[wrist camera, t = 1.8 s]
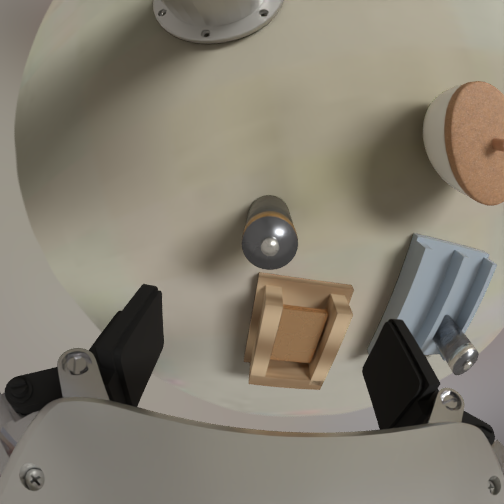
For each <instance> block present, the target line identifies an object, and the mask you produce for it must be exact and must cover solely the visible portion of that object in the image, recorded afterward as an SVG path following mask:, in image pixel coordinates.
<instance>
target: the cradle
mask: <svg viewBox="0 0 504 504" xmlns="http://www.w3.org/2000/svg"><path fill="white" fill-rule="evenodd" d="M353 291H354V289H353V287H352V285H347V284H339V283H332V282H324V281H317V280H310V279H303V278H296V277H289V276H282V275H275V274H268V273H261V272H259V277H258V283H257V288H256V294H255V300H254V305H253V311H252V317H251V322H250V328H249V333H248V339H247V344H246V350H245V355H244V362H249V363H250V372H249V384H254V385H263V386H273V387H284V388H297V389H315V390H320V388H321V386H322V384H323V382H324V380H325V378H326V376H327V374H328V372H329V370H330V368H331V366H332V363H333V361H334V359H335V357H336V355H337V352H338V350H339V348H340V346H341V343H342V341H343V339H344V336H345V334H346V331H347V329H348V327H349V324H350V322H351V319H352V317H353V313H352V311H351V308H350V306H349V302H350V300H351V297H352V294H353ZM283 304H285V305H293V306H301V307H309V308H318V309H327V311H328V317H327V319H326V322H325V325H324V328H323V331H322V333H321V336H320V339H319V341H318V344H317V347H316V349H315V352H314V355H313V357H312V360H311V362H310V363H303V362H292V361H281V360H272V359H270V357H271V353H272V349H273V345H274V342H275V338H276V334H277V330H278V326H279V322H280V318H281V314H282V310H283Z"/></svg>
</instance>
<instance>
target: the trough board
mask: <svg viewBox="0 0 504 504" xmlns="http://www.w3.org/2000/svg"><path fill="white" fill-rule="evenodd" d="M488 257H489V254H488V253H486V252H485V251H481V250H478V249H474V248H471V247H467V246H463V245H460V244H456V243H452V242H448V241H444V240H440V239H437V238H432V237H428V236H424V235H420V234H416V233H414V234H413V237H412V240H411V243H410V247H409V250H408V253H407V256H406V259H405V261H404V264H403V267H402V270H401V273H400V275H399V278H398V281H397V283H396V286H395V288H394V291H393V293H392V296H391V298H390V301H389V303H388V306H387V308H386V310H385V313H384V315H383V317H382V319H381V322H380V324H379V326H378V328H377V330H376V332H375V335H374V337H373V339H372V341H371V343H370V345H369V347H368V349H367V351H368V353H369V354H370V352H371V350H372V348H373V346H374V344H375V342H376V340H377V338H378V336H379V334H380V332H381V330H382V328H383V325H384V324H385V322H388V320H389V319H401V320H403V321H404V323H405V324H406V326H407V327H408V329H409V330H410V332H411V334H412V335H413V337H414V339H415V340H416V342H417V344H418V345H419V347H420V349H421V350H422V352H423V354H424V355H429V354H440V355H441V357H442V359H443V360H444V361H445V358H444V357H443V355H442V353H441V352H440V350H439V349H438V347H437V345H436V344H435V342H434V341H433V339H432V338H433V337H434V335H435V333H436V331H437V329H438V327H439V325H440V324H441V322H442V320H443V318H444V316H445V315H449V316H451V318H452V319H453V320H454V321H455V323H456V324H457V325H458V326H459V328H460V329H461V330H462V332H463V333H464V334H465V332H466V330H467V328H468V326H469V325H470V323H471V321H472V319H473V317H474V315H475V313H476V311H477V309H478V307H479V305H480V303H481V301H482V299H483V297H484V295H485V292H486V290H487V288H488V286H489V283H490V281H491V279H492V276H493V274H494V271H495V269H496V266H497V265H496V264H495V263H494V262H492V261H491V260H490V259H488Z"/></svg>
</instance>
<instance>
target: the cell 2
mask: <svg viewBox="0 0 504 504" xmlns="http://www.w3.org/2000/svg"><path fill="white" fill-rule="evenodd" d="M432 339H433V341H434V342H435V344H436V345H437V347H438V349H439V350H440V352H441V353H442V355H443V357H444V358H445V360H446V361H447V363H448V365H449V367H450V368H451V370H452V372H453V373H454V374H455V375H460V374H463V373H464V372H466V371H467V370H469V369H470V368H471V367H472V366H473V364H474V363H475V362H476V360H477V358H478V352H477V350H476V348H475V347H474V346H473V344H472V343H471V342H470V341H469V339H468V338H467V337H466V335H465V334H464V333H463V332H462V330H461V329H460V328H459V326H458V325H457V324H456V323H455V321H454V320H453V319H452V318H451V316H449V315H445V316H444V318H443V320H442V322H441V324H440V325H439V327H438V329H437V331H436V333H435V335H434V337H433V338H432Z"/></svg>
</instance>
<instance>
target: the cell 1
mask: <svg viewBox="0 0 504 504" xmlns="http://www.w3.org/2000/svg"><path fill="white" fill-rule="evenodd" d="M297 247H298V238H297V234H296V231H295V228H294V225H293V222H292V219H291V216H290V212H289V209H288V207H287V205H286V203H285V202H284V201H283V200H282V199H280V198H278V197H276V196H272V195H266V196H262V197H260V198H258V199H256V200H255V201H254V202H253V203H252V205H251V207H250V209H249V213H248V217H247V222H246V226H245V229H244V232H243V237H242V249H243V252H244V254H245V256H246V258H247V259H248V260H249V261H250V262H251V263H252V264H253V265H255V266H257V267H259V268H262V269H268V270H272V269H278V268H281V267H283V266H285V265H286V264H288V263H289V262H290V261H291V260H292V259H293V257H294V256H295V254H296V251H297Z"/></svg>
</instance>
